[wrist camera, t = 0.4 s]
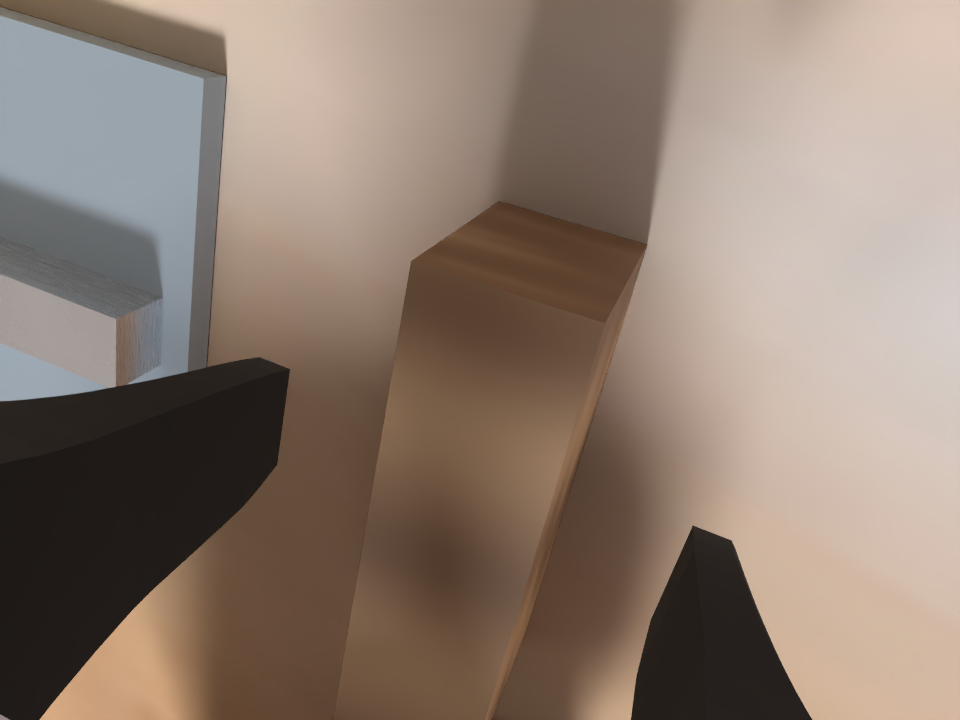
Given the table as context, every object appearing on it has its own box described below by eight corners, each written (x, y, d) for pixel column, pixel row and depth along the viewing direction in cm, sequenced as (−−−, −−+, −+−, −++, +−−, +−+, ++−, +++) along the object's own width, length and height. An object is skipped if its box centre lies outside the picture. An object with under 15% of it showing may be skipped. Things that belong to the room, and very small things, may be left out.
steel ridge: (160, 364, 25) (115, 390, 24) (-15, 295, 27) (-70, 315, 25) (162, 297, 24) (116, 319, 22) (-20, 228, 26) (-78, 244, 24)
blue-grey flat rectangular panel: (195, 522, 29) (178, 538, 28) (-1, 436, 31) (-24, 448, 30) (226, 76, 22) (203, 78, 21) (-33, -4, 24) (-65, -5, 23)
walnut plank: (524, 636, 26) (464, 789, 21) (415, 591, 27) (331, 728, 22) (648, 243, 20) (605, 323, 15) (501, 200, 21) (411, 261, 16)
